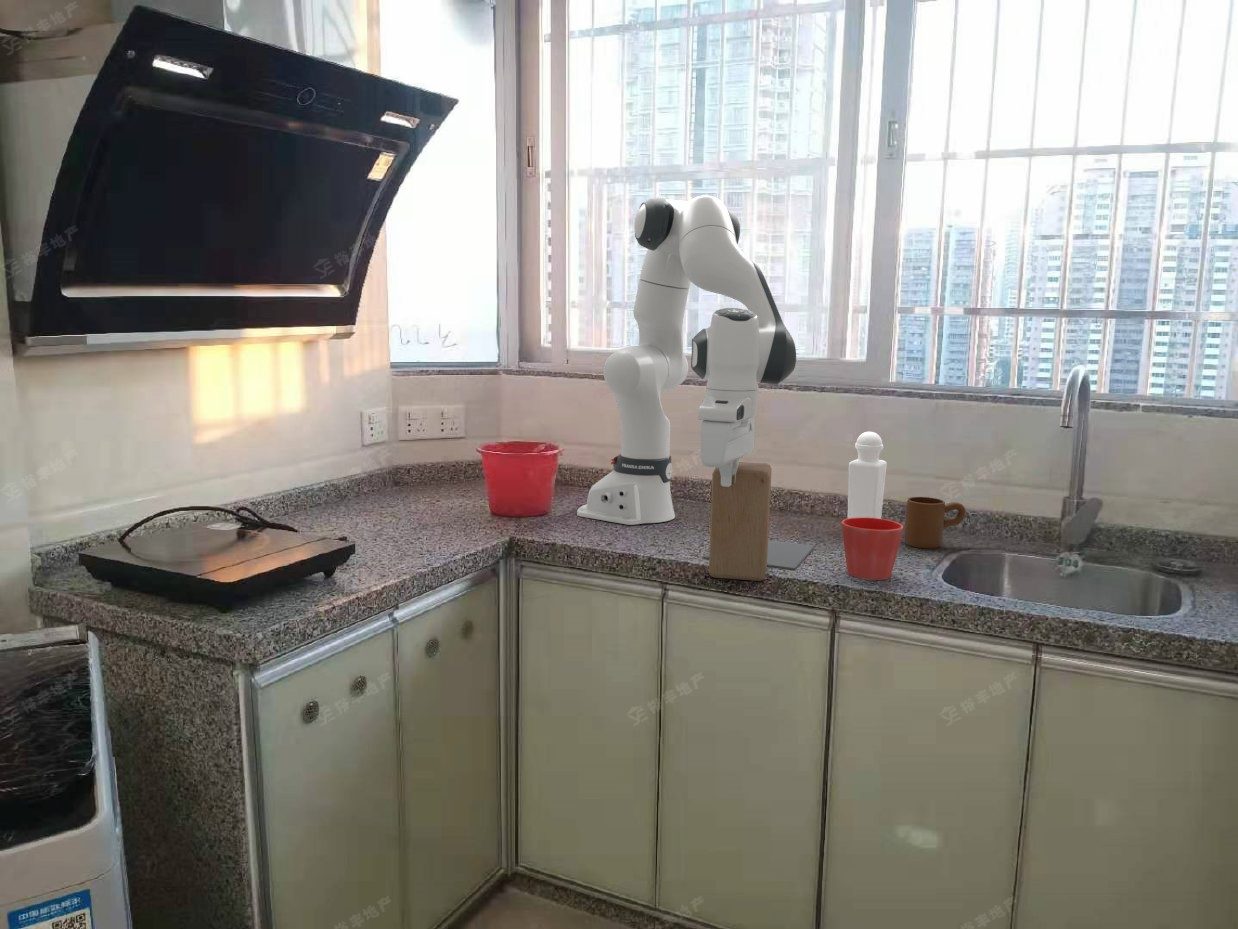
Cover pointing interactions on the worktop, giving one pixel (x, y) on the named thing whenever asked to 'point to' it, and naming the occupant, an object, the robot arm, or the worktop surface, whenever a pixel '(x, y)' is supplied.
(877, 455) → the white bottle
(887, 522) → the flower pot
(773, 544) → the rubber mat
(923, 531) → the mug
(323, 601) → the worktop surface
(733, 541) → the wooden block
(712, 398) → the robot arm
